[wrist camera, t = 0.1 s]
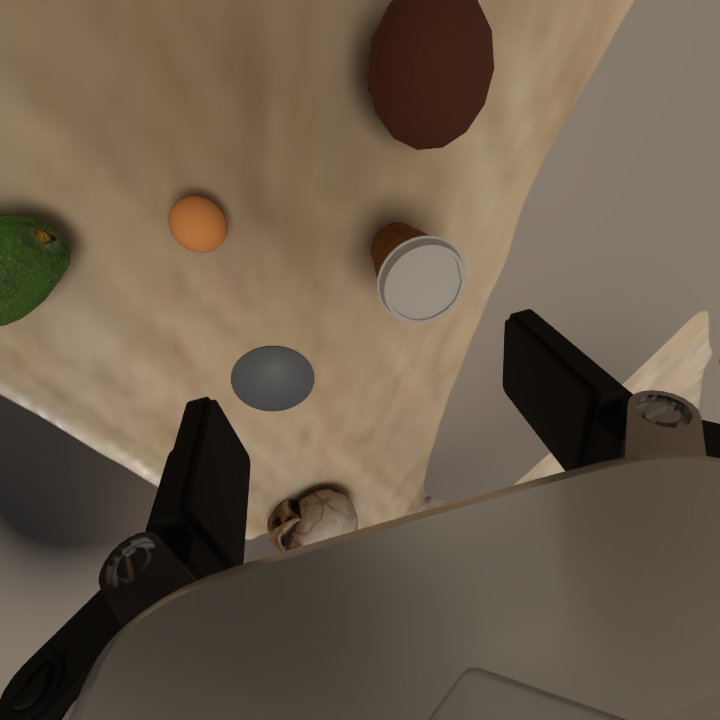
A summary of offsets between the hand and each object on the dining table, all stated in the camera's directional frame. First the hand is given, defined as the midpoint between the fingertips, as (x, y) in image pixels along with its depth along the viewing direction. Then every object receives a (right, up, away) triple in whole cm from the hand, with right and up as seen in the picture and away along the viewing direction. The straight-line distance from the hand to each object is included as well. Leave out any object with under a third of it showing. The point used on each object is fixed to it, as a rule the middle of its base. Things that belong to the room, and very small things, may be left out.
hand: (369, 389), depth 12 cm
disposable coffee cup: (+4, +15, +36) cm, 39 cm away
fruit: (-37, +12, +29) cm, 49 cm away
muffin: (+5, +30, +26) cm, 40 cm away
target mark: (-13, -2, +44) cm, 46 cm away
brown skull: (-11, -29, +64) cm, 71 cm away
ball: (-17, +15, +28) cm, 36 cm away
